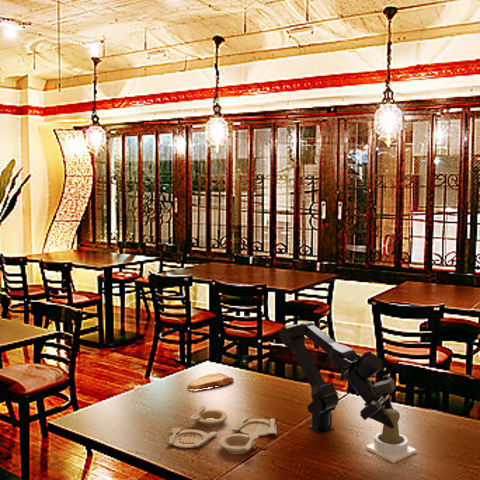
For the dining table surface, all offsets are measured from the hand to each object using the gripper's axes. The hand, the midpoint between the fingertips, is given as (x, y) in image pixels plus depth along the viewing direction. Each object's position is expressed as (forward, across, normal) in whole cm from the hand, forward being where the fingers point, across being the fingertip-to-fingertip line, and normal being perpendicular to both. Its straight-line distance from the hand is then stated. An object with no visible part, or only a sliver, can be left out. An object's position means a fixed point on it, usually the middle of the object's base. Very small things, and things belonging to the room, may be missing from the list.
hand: (395, 424), depth 176 cm
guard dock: (+6, 0, +7) cm, 9 cm away
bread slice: (-51, +24, +66) cm, 87 cm away
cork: (+4, 0, +6) cm, 7 cm away
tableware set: (-31, -16, +45) cm, 57 cm away
